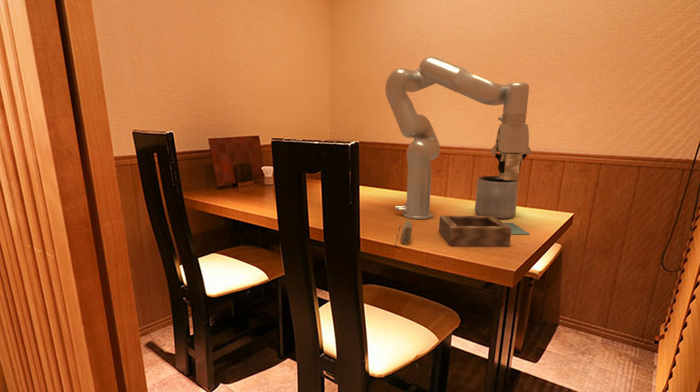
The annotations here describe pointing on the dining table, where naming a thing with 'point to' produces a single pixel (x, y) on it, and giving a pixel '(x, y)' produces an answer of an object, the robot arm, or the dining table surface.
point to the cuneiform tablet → (406, 232)
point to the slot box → (474, 231)
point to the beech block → (511, 167)
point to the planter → (496, 197)
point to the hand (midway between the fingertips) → (508, 171)
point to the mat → (516, 229)
